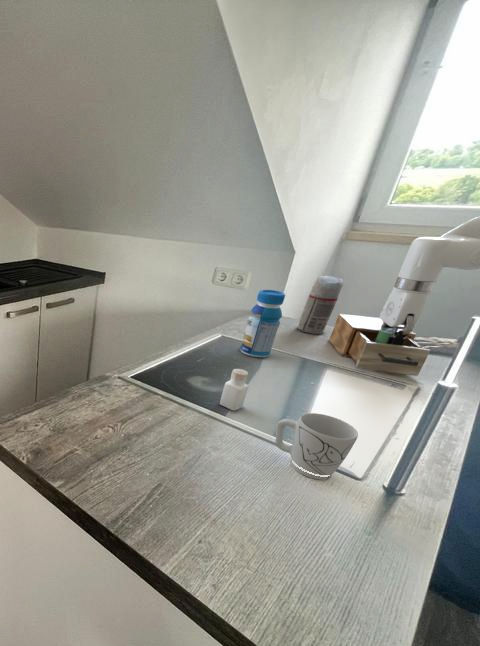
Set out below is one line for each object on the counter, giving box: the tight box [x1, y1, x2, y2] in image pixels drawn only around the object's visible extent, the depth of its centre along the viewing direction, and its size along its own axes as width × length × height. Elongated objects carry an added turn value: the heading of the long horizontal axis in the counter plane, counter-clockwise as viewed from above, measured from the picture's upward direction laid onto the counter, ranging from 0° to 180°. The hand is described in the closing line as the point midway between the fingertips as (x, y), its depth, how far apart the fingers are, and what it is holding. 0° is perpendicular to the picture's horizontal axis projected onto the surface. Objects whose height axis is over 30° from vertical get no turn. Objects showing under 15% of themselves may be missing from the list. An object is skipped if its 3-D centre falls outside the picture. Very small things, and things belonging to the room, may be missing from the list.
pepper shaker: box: [219, 368, 249, 411], centre depth 93 cm, size 4×4×10 cm
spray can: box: [296, 274, 344, 335], centre depth 139 cm, size 8×8×20 cm
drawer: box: [347, 330, 431, 377], centre depth 112 cm, size 18×13×8 cm
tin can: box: [375, 328, 402, 344], centre depth 112 cm, size 6×6×6 cm
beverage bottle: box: [240, 289, 286, 358], centre depth 120 cm, size 8×8×20 cm
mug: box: [274, 412, 359, 481], centre depth 73 cm, size 11×8×10 cm
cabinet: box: [329, 313, 417, 358], centre depth 123 cm, size 15×15×10 cm
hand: (387, 346), depth 112 cm, fingers closed on tin can, 5 cm apart
